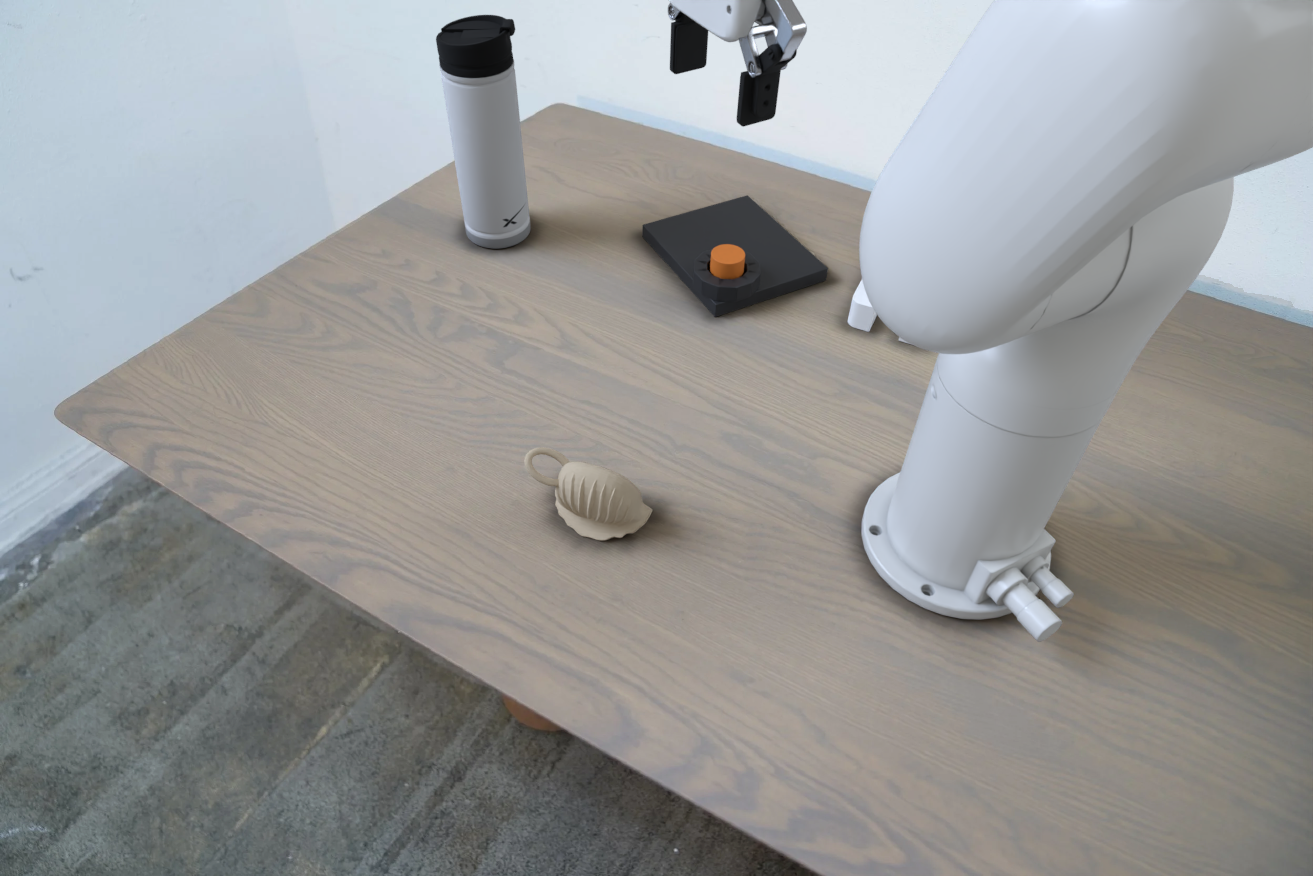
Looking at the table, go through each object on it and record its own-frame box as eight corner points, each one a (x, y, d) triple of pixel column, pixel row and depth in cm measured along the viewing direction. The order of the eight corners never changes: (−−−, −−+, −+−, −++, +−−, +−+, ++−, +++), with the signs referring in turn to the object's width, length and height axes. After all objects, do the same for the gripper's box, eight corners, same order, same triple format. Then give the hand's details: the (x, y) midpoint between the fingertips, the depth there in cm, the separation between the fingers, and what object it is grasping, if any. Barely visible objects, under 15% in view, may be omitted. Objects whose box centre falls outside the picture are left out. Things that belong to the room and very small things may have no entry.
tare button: (750, 274, 79) (751, 258, 78) (720, 283, 78) (722, 267, 77) (732, 256, 81) (733, 240, 80) (703, 265, 80) (704, 249, 79)
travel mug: (530, 250, 86) (508, 38, 71) (461, 249, 86) (425, 36, 71) (537, 214, 90) (518, 8, 76) (472, 213, 90) (440, 6, 76)
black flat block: (829, 283, 83) (834, 256, 81) (713, 321, 79) (715, 294, 77) (746, 206, 92) (749, 180, 90) (638, 237, 88) (638, 211, 85)
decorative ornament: (631, 554, 61) (630, 504, 58) (524, 514, 64) (516, 464, 60) (654, 512, 64) (656, 461, 60) (551, 475, 66) (546, 424, 62)
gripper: (624, -185, 62) (625, 61, 74) (768, -116, 52) (742, 155, 64) (715, -196, 65) (702, 43, 77) (870, -132, 55) (825, 131, 67)
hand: (720, 94), depth 71 cm, fingers open, 9 cm apart
